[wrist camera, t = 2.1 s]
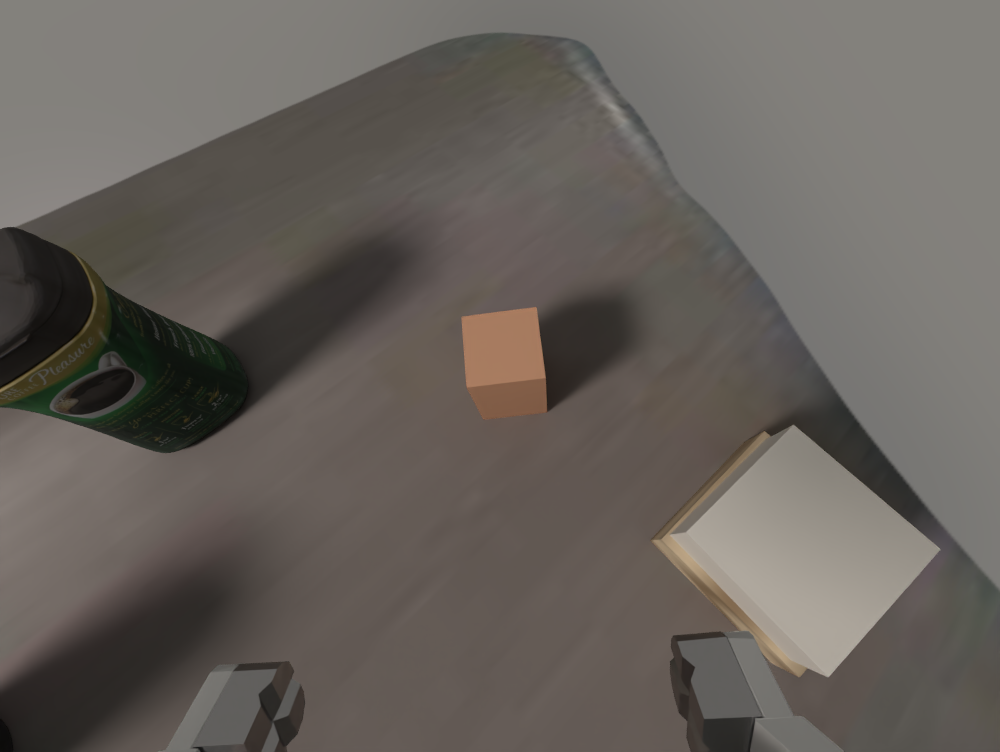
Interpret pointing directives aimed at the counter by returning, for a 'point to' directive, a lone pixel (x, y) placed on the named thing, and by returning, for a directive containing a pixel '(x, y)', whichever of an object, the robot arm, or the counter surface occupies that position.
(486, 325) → the pillar
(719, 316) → the counter surface
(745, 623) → the tower base
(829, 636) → the tower top
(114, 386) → the coffee jar
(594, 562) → the counter surface
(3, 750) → the travel mug
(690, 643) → the robot arm
